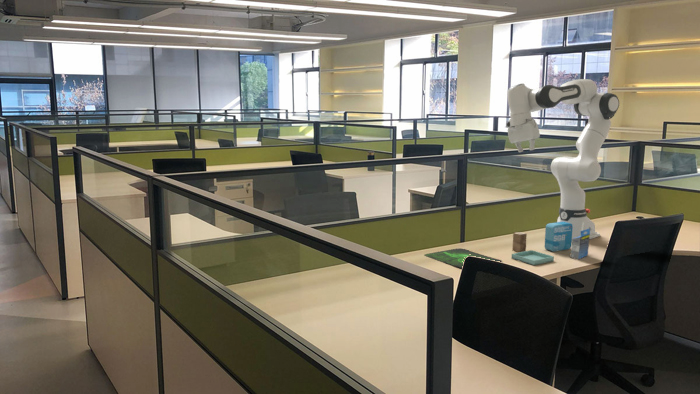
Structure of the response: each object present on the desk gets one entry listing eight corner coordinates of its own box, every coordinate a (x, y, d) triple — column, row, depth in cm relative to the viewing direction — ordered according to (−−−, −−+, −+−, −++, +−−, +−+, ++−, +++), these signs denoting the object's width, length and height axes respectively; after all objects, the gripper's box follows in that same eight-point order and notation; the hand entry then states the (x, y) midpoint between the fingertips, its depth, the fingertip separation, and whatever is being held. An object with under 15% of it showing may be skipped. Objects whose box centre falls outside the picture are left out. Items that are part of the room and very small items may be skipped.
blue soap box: (551, 252, 252) (553, 225, 249) (544, 249, 256) (545, 223, 253) (571, 249, 257) (573, 223, 255) (563, 246, 261) (565, 221, 259)
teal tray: (531, 254, 248) (531, 250, 247) (553, 261, 237) (553, 256, 237) (511, 258, 242) (511, 253, 241) (533, 265, 231) (533, 260, 231)
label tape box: (579, 254, 249) (581, 226, 246) (588, 255, 246) (590, 228, 244) (569, 257, 243) (571, 229, 240) (579, 259, 240) (581, 231, 238)
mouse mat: (421, 255, 248) (421, 253, 248) (459, 248, 259) (459, 246, 259) (464, 271, 225) (464, 268, 225) (504, 263, 236) (504, 260, 236)
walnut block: (518, 249, 256) (519, 231, 255) (525, 251, 253) (526, 233, 251) (512, 250, 254) (513, 232, 253) (519, 252, 251) (520, 234, 249)
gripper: (540, 116, 245) (545, 147, 245) (516, 122, 265) (520, 152, 265) (527, 118, 244) (532, 150, 244) (504, 124, 264) (508, 154, 264)
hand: (526, 151), depth 255 cm, fingers open, 8 cm apart
